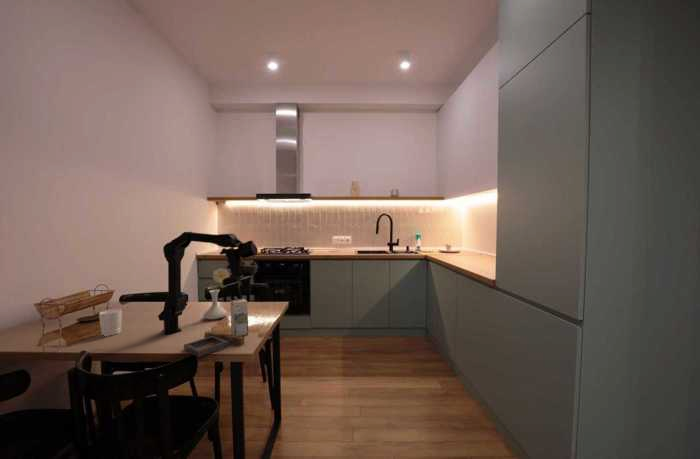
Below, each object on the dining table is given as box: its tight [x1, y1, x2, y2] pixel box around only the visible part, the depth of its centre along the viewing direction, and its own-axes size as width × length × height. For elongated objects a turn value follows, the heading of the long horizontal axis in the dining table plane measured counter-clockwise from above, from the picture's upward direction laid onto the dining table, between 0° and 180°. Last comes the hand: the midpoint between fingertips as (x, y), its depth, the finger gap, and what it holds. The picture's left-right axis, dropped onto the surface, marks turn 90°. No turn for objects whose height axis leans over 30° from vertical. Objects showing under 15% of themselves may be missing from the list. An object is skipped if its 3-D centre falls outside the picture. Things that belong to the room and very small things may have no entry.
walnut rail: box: [203, 330, 245, 346], centre depth 122 cm, size 20×2×2 cm, turn 65°
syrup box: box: [230, 298, 249, 337], centre depth 129 cm, size 6×6×14 cm
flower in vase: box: [202, 267, 230, 320], centre depth 155 cm, size 13×11×25 cm
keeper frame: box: [183, 335, 229, 358], centre depth 115 cm, size 11×11×2 cm
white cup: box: [98, 308, 123, 337], centre depth 135 cm, size 8×8×10 cm
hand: (244, 296), depth 133 cm, fingers open, 9 cm apart
